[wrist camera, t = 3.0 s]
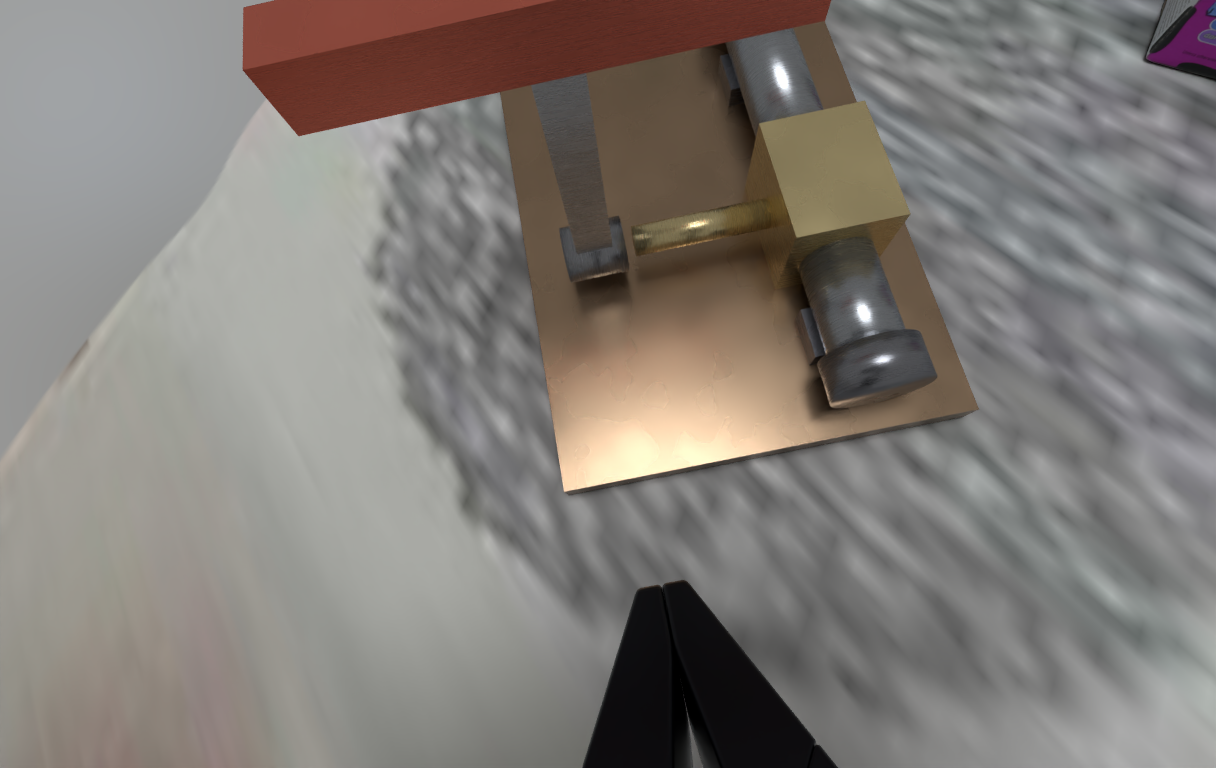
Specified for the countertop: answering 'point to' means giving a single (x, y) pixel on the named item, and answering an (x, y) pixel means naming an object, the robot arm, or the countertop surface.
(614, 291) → the valve on board
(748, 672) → the robot arm
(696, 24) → the valve lever
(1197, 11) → the candy bar box
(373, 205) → the countertop surface
